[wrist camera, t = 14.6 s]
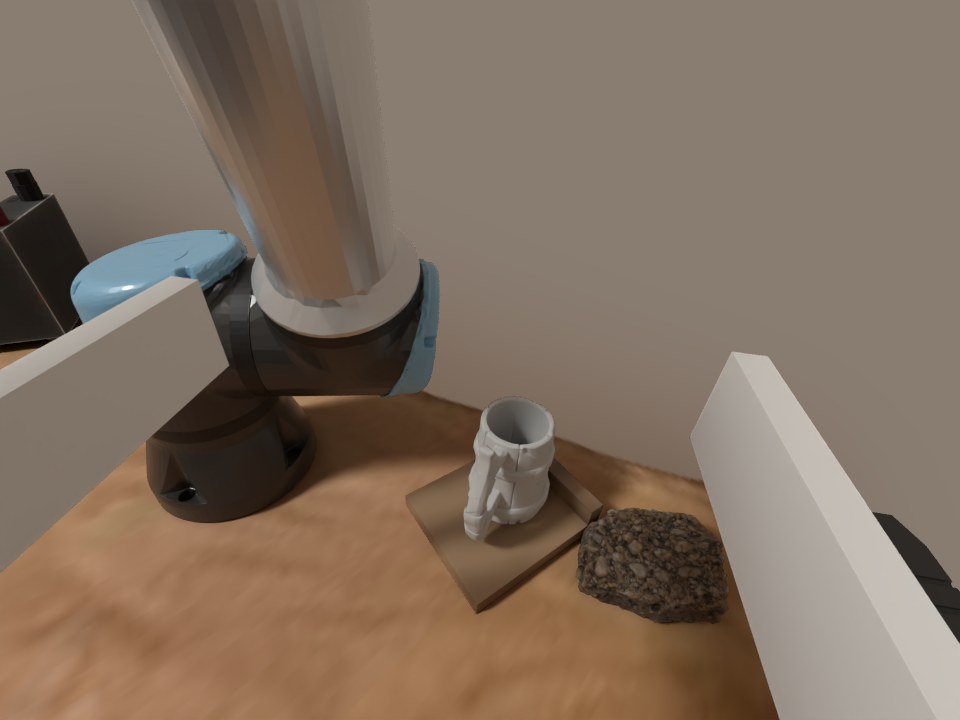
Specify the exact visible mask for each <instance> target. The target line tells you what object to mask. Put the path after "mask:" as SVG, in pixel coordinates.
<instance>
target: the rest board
mask: <svg viewBox="0 0 960 720" xmlns="http://www.w3.org/2000/svg"><path fill="white" fill-rule="evenodd" d="M474 463H475V460H474V461H472V462H470V463H468V464H467V465H465V466H463V467H461V468H459V469H457V470H455V471H453V472H451V473H449V474H447V475H445V476H443V477H441V478H439V479H437V480H435V481H433V482H431V483H429V484H428V485H426V486H424V487H422V488H420V489H418V490H416V491H414V492H412V493H410V494H408V495H406V505H407V507H408V508H409V510H410V512H411V513H412V515H413V516H414V518H415V519H416V521H417V522H418V524H419V526H420V527H421V529H422V530H423V532H424V533H425V535H426V536H427V538H428V540H429V541H430V543H431V544H432V546H433V547H434V549H435V551H436V552H437V554H438V555H439V557H440V558H441V560H442V561H443V563H444V565H445V566H446V568H447V569H448V571H449V572H450V574H451V575H452V577H453V579H454V580H455V582H456V583H457V585H458V586H459V588H460V589H461V591H462V593H463V594H464V596H465V597H466V599H467V600H468V602H469V603H470V605H471V607H472V608H473V610H474V611H475V613H476V614H477V613H478V612H479V611H481V610H482V609H484V608H485V607H486V606H488V605H489V604H490V603H492V602H493V601H494V600H496V599H497V598H499V597H500V596H501V595H503V594H504V593H505V592H507V591H508V590H509V589H511V588H512V587H514V586H515V585H516V584H518V583H519V582H520V581H522V580H523V579H524V578H526V577H527V576H529V575H530V574H531V573H533V572H534V571H535V570H537V569H538V568H539V567H541V566H542V565H544V564H545V563H546V562H548V561H549V560H550V559H552V558H553V557H554V556H556V555H557V554H559V553H560V552H561V551H563V550H564V549H565V548H567V547H568V546H569V545H571V544H572V543H574V542H575V541H576V540H578V539H579V538H580V537H582V535H583V533H584V531H585V529H586V528H587V527H588V526H589V524H590V523H592V522H597V520H598V518H599V515H600V512H601V510H602V507H603V504H602V503H601V502H600V501H599V500H598V499H597V498H596V497H595V496H594V495H592V494H591V493H590V492H589V491H588V490H587V489H586V488H585V487H584V486H583V485H582V484H581V483H580V482H579V481H578V480H577V479H576V478H575V477H574V476H572V475H571V474H570V473H569V472H568V471H567V470H566V469H565V468H564V467H563V466H562V465H561V464H560V463H559V462H558V461H557V460H556V459H555V458H553V461H552V464H551V466H550V467H549V469H548V479H549V483H550V486H549V492H548V496H547V499H546V501H545V503H544V505H543V506H542V507H541V508H540V509H539V511H538V512H537V514H536V515H535V516H534V517H533V518H531V519H530V520H528V521H526V522H523V523H520V522H518V521H517V522H516V524H509V523H507V524H502V523H498V522H495V521H493V520H491V522H490V524H489V527H488V529H487V532H486V534H485V536H484V537H483V539H482V540H481V541H480V542H478V541H475V540H473V539H471V538H470V537H469V536H468V535H467V534H466V532H465V526H464V509H465V507H467V505H468V500H469V496H468V493H469V490H470V487H469V474H470V472H471V469H472V467H473V465H474Z"/></svg>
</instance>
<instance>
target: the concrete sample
mask: <svg viewBox="0 0 960 720" xmlns="http://www.w3.org/2000/svg"><path fill="white" fill-rule="evenodd" d="M722 546H723V544H722V543H721V541H719V540H718V539H717V538H716V537H714V535H713V534H712V533H710V532H708V531H707V530H706V529H705V528H704V527H703V526H702V525H701V524H700V522H699V521H698V520H697V518H695V517H694V516H692V515H686V514H684V513H673V512H660V511H657V510H654V509H652V510H651V511H649V510H645V509H641V510H640V509H639V508H626V509H624V510H615V509H611V510H607V514H606V515H605V516H604V517H603V518H601V519H599V520H598V521H597V522H592V523H590V524H589V526H588V527H587V528H586V529H585V531H584V533H583V535H582V538H581V546H580V549H579V553H578V568H577V572H576V577H577V578H578V579H579V585H578V588H579V590H580V592H583V593H585V594H587V595H591V596H592V597H593V598H596V599H598V600H599V601H601V602H604V603H608V604H615V605H617V606H619V607H620V608H622V609H626V610H629V611H632V612H633V613H635V614H637V615H639V616H641V617H643V618H647V617H648V618H649V619H650V620H652V621H653V622H671V621H672V620H674V621H685V622H689V623H693V622H694V621H709V622H710V623H712V624H714V623H718V622H720V620H721V618H722V616H721V615H723V614H724V613H725V612H726V611H727V610H728V605H727V601H726V597H727V595H728V591H729V589H728V588H729V586H728V585H727V584H726V576H727V575H726V574H725V573H724V572H723V571H724V570H723V568H722V566H723V563H724V560H725V556H724V555H723V554H722V550H721V549H720V548H722Z"/></svg>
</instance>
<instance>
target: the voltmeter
mask: <svg viewBox="0 0 960 720" xmlns="http://www.w3.org/2000/svg"><path fill="white" fill-rule="evenodd" d="M5 173H6V175H7V176H8V178H9V180H10V182H11V184H12V186H13V188H14V190H15V192H16V193H17V195H11V196H9V197H7V198H6V199H4V200H3V201H1V202H0V345H1V344H9V343H17V342H25V341H33V340H41V339H47V340H48V341H49V342H52V341H53V340H55V339H57V338H59V337H61V336H63V335H64V334H66V333H68V332H70V331H71V329H72V328H73V326H74V325H75V323H76V322H77V321H78V319H79V318H80V316H79V314H78V312H77V310H76V308H75V306H74V304H73V301H72V299H71V285H72V282H73V281H74V279H75V277H76V276H77V275H78V273H79V272H80V271H81V270H82V269H84V268H85V267H86V266H87V265H89V264H90V263H89V261H88V259H87V258H86V256H85V254H84V252H83V250H82V248H81V246H80V244H79V242H78V240H77V239H76V236H75V234H74V232H73V231H72V228H71V226H70V225H69V223H68V221H67V219H66V217H65V215H64V213H63V211H62V209H61V207H60V205H59V203H58V201H57V199H56V197H55V195H54V194H42V192H41V190H40V188H39V186H38V184H37V182H36V181H35V179H34V177H33V176H32V174H31V172H30V170H29V169H13V170H8V171H6V172H5Z"/></svg>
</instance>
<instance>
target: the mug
mask: <svg viewBox="0 0 960 720" xmlns="http://www.w3.org/2000/svg"><path fill="white" fill-rule="evenodd" d="M554 434H555V422H554V419H553V416H552V415H551V413H550V412H549V411H548V410H547V409H546V408H545V407H543V406H542V405H541V404H536V403H534V402H533V401H531V400H529V399H526V398H522V397H517V398H516V396H512V397H504V398H500V399H497V400H495V401H493V402H492V403H491V404H490V405H489V406H488V408H485V409H484V411H483V413H482V416H481V422H480V429H479V431H478V433H477V435H476V438H475V440H474V446H473V448H474V451H475V455H476V459H475V463H474V465H473V467H472V469H471V472H470V474H469V487H470V490H469V493H468V496H469V500H468V505H467V507H465V509H464V526H465V532H466V534H467V535H468V536H469V537H470V538H471V539H473V540H475V541H478V542H480V541H481V540H482V539H483V537H484V536H485V534H486V532H487V529H488V527H489V524H490V522H491V520H493V521H495V522H498V523H502V524H507V523H509V524H516V522H517V521H518V522H520V523H523V522H526V521H528V520H530V519H531V518H533V517H534V516H535V515H536V514H537V512H538V511H539V509H540V508H541V507H542V506H543V505H544V503H545V501H546V499H547V496H548V492H549V486H550V483H549V479H548V469H549V467H550V466H551V464H552V461H553V457H554V453H555V446H554V443H553V440H554Z"/></svg>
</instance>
